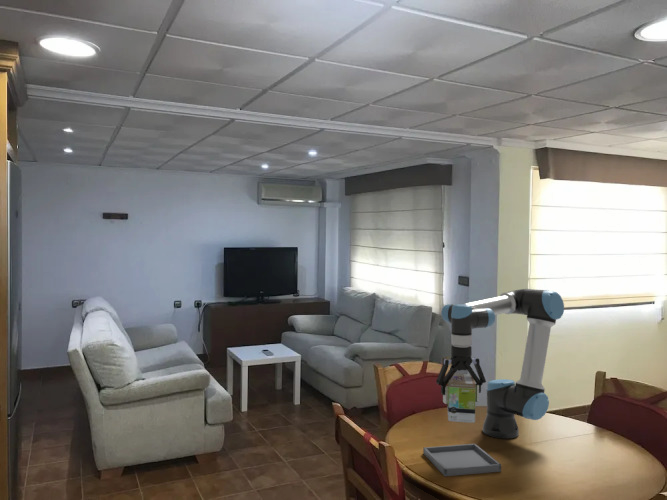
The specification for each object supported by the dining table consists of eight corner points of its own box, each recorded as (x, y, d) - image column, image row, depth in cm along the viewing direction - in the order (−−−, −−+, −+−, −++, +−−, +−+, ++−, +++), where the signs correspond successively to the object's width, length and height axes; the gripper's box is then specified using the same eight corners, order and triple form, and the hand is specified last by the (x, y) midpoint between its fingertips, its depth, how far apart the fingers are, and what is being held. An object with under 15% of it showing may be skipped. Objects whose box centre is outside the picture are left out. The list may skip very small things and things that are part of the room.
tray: (474, 449, 218) (474, 443, 218) (501, 471, 197) (501, 464, 197) (423, 453, 213) (423, 447, 213) (444, 476, 193) (444, 469, 193)
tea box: (476, 423, 197) (476, 383, 196) (448, 421, 198) (448, 381, 198) (473, 411, 211) (473, 373, 211) (447, 409, 213) (447, 372, 213)
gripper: (486, 342, 211) (485, 397, 211) (427, 344, 206) (427, 401, 206) (495, 346, 203) (495, 403, 204) (435, 348, 198) (434, 406, 199)
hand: (460, 402), depth 205 cm, fingers closed on tea box, 12 cm apart
